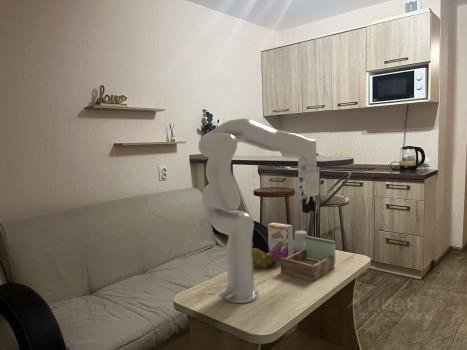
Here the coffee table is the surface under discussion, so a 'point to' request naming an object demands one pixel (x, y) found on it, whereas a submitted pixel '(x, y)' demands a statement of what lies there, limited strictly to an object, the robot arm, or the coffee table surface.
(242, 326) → the coffee table surface
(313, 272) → the brown wooden tray
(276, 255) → the candy bar box
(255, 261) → the potato
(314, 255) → the panel
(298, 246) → the air freshener
